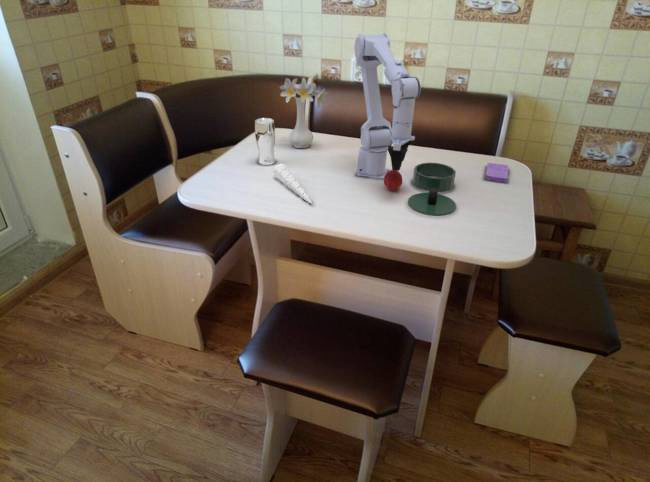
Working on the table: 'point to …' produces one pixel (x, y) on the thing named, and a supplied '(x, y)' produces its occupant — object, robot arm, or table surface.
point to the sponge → (497, 172)
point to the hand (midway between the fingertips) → (398, 165)
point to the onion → (393, 180)
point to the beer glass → (265, 140)
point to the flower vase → (301, 108)
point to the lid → (432, 203)
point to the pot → (436, 170)
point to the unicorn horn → (289, 180)
